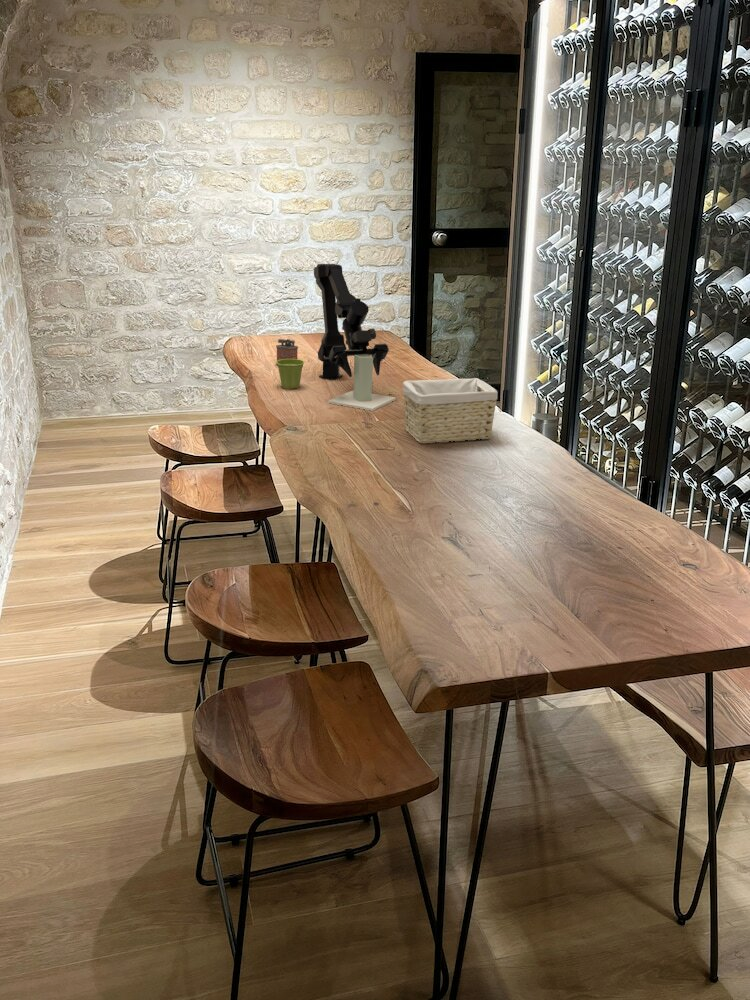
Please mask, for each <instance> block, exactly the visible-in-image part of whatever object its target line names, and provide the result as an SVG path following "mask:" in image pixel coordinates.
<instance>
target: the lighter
mask: <svg viewBox="0 0 750 1000" xmlns="http://www.w3.org/2000/svg"><path fill="white" fill-rule="evenodd" d="M277 343H278V344H277V345H276V346H275V348H276V361H278V360H281V359H298V350H299V346H298V345H295V344H296V342H295V339H290V338H287V339H285V338H284V339H283V338H278V340H277ZM275 364H276V367H278V364H277V363H275Z"/></svg>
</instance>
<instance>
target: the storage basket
mask: <svg viewBox="0 0 750 1000" xmlns="http://www.w3.org/2000/svg"><path fill="white" fill-rule="evenodd" d="M402 394H403V398H404V409H405V411H404V414H405V415H404V416H405V429H406V432H408V434H410V436H413V438H415V439H414V440H416V442H417V441H418V443H419V444H426V443H430V444H435V442H437V444H439V443H451V442H453V441H455V442H466V441H465V440H468V441H475V440H476V439H479V440H480V439H482V440H488V439H489V440H490V439H491V438H492V437H491V436H492V431H493V430H492V429H493V426H494V425H493V424H494V418H495V417H494V416H495V411H496V406H497V400H498V390H497V389H496V388H495V387H492V386H491V385H490V384H488V383H487V382H485V381H484V380H482V379H479V378H477V377H474V378H450V379H448V378H447V379H427V380H423V379H422V380H419V379H418V380H405V381H403V382H402ZM449 441H451V442H449ZM438 442H439V443H438Z"/></svg>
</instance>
